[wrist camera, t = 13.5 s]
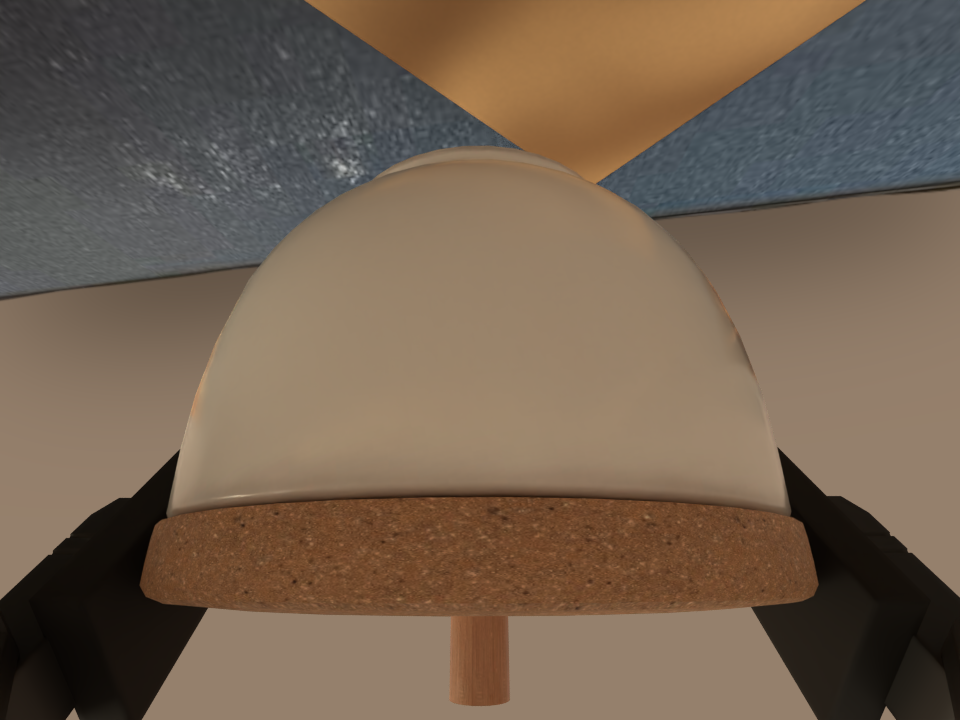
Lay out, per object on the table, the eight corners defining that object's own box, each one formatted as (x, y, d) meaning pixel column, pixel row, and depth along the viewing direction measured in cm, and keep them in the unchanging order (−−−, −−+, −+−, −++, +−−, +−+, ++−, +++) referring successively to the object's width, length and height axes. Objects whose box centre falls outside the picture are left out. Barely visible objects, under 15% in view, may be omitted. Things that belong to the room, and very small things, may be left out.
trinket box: (626, 341, 18) (665, 656, 14) (307, 333, 17) (261, 660, 13) (851, 43, 8) (1177, 829, 4) (120, 0, 7) (-243, 872, 4)
